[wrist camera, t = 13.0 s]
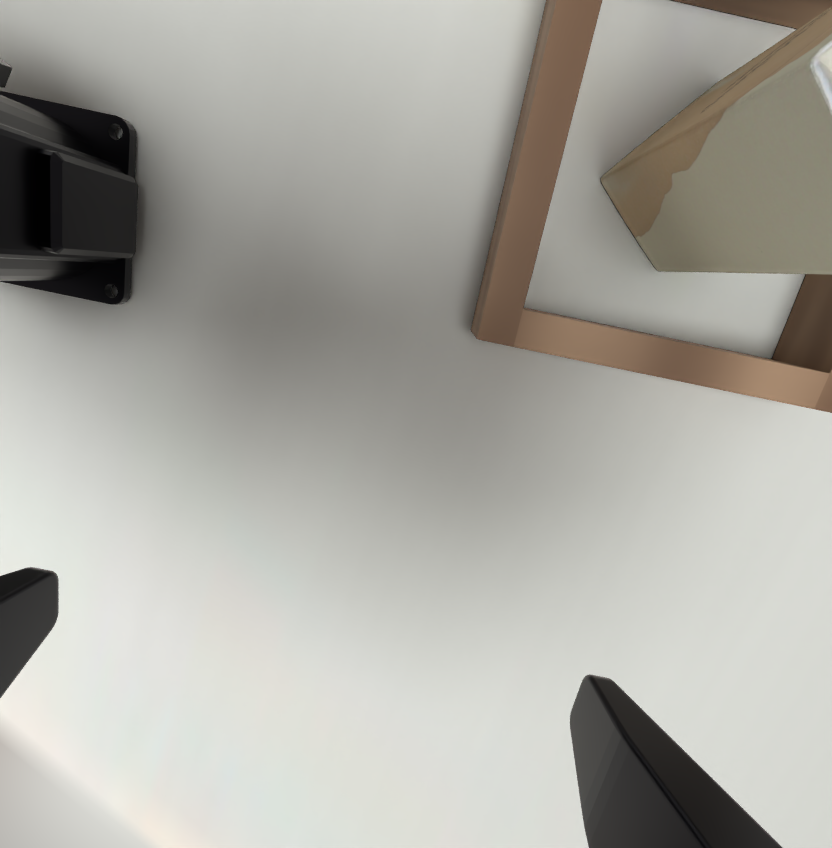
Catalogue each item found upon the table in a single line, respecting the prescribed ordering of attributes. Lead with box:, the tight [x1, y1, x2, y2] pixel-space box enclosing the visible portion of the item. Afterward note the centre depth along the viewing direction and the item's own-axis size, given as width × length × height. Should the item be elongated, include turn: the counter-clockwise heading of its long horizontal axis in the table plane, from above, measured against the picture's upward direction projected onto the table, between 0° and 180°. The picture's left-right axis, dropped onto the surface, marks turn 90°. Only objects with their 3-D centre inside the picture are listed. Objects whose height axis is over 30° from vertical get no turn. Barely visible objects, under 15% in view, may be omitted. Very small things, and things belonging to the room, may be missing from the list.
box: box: [601, 7, 832, 275], centre depth 13 cm, size 5×4×11 cm
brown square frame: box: [471, 0, 832, 413], centre depth 17 cm, size 13×13×3 cm
